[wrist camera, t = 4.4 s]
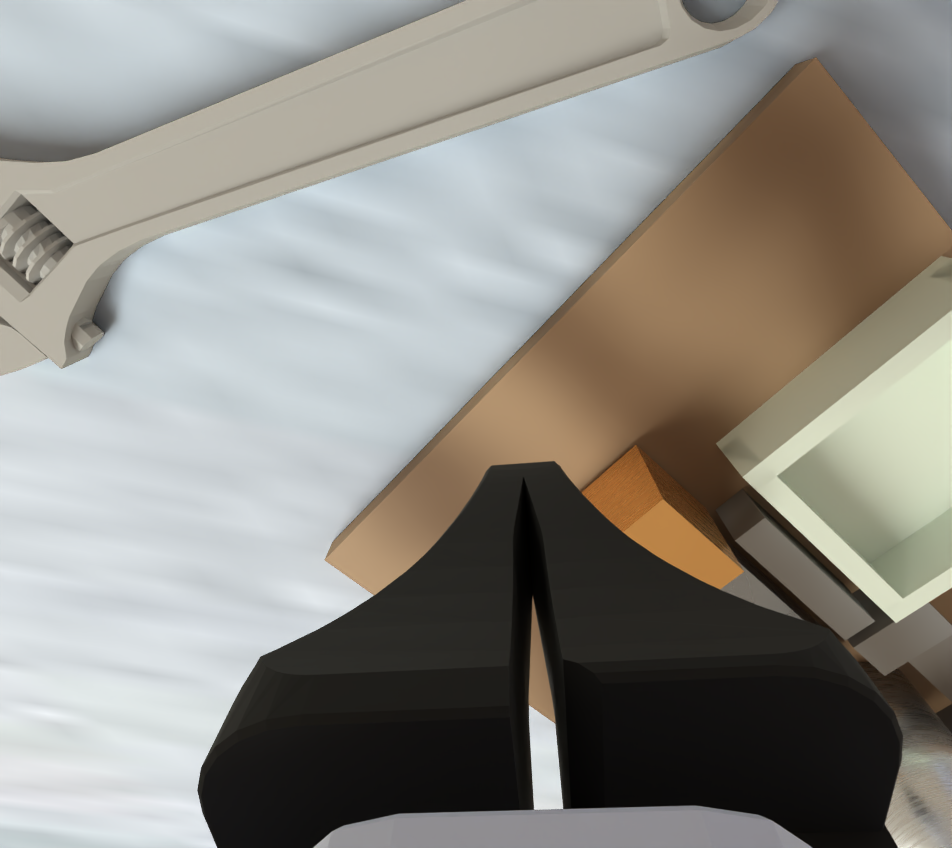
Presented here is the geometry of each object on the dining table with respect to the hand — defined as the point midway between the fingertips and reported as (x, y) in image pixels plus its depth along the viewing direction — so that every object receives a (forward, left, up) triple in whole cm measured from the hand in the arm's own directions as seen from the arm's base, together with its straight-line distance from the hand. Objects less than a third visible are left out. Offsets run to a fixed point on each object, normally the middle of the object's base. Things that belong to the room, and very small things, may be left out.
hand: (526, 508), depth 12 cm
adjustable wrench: (+5, -8, -7) cm, 11 cm away
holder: (-6, +9, -7) cm, 13 cm away
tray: (-10, +4, -7) cm, 12 cm away
